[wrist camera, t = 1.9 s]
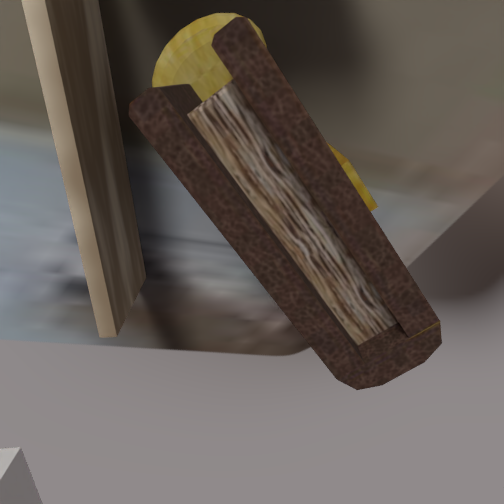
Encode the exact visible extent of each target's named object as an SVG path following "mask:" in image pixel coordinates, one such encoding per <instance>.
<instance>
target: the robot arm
mask: <svg viewBox="0 0 504 504" xmlns="http://www.w3.org/2000/svg"><path fill="white" fill-rule="evenodd" d="M0 504H42V501H41V499H40V496H39V493H38V491H37V488H36V486H35V483H34V480H33V478H32V475H31V473H30V470H29V468H28V465H27V462H26V460H25V457H24V454H23V452H22V450H21V447H16V448H2V449H0Z"/></svg>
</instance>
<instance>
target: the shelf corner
mask: <svg viewBox="0 0 504 504" xmlns="http://www.w3.org/2000/svg"><path fill="white" fill-rule="evenodd" d="M22 4H23V9H24V13H25V17H26V21H27V26H28V30H29V34H30V39H31V43H32V47H33V52H34V56H35V60H36V65H37V69H38V73H39V77H40V82H41V86H42V90H43V95H44V99H45V103H46V108H47V112H48V116H49V121H50V125H51V129H52V133H53V138H54V142H55V146H56V151H57V155H58V159H59V164H60V168H61V172H62V177H63V181H64V185H65V189H66V194H67V198H68V202H69V207H70V211H71V215H72V220H73V224H74V228H75V233H76V237H77V241H78V245H79V250H80V254H81V258H82V263H83V267H84V271H85V276H86V280H87V284H88V288H89V293H90V297H91V301H92V306H93V310H94V314H95V319H96V323H97V327H98V332H99V336H100V338H102V337H117V335H118V333H119V331H120V329H121V327H122V325H123V323H124V321H125V319H126V317H127V315H128V313H129V311H130V309H131V307H132V305H133V303H134V301H135V299H136V297H137V295H138V293H139V291H140V289H141V287H142V285H143V283H144V281H145V279H146V273H145V267H144V261H143V255H142V249H141V244H140V238H139V232H138V226H137V221H136V215H135V209H134V203H133V198H132V192H131V186H130V180H129V175H128V169H127V163H126V157H125V152H124V146H123V140H122V134H121V129H120V123H119V117H118V111H117V105H116V100H115V94H114V88H113V82H112V77H111V71H110V65H109V59H108V54H107V48H106V42H105V36H104V31H103V25H102V19H101V13H100V8H99V2H98V0H22Z"/></svg>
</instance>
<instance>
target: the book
mask: <svg viewBox="0 0 504 504" xmlns="http://www.w3.org/2000/svg"><path fill="white" fill-rule="evenodd" d="M129 117H130V118H131V119H132V121H133V122H134V123H135V125H136V126H137V127H138V128H139V130H140V131H141V132H142V133H143V135H144V136H145V137H146V138H147V140H148V141H149V142H150V144H151V145H152V146H153V147H154V149H155V150H156V151H157V152H158V154H159V155H160V156H161V157H162V159H163V160H164V161H165V163H166V164H167V165H168V166H169V168H170V169H171V170H172V171H173V173H174V174H175V175H176V176H177V178H178V179H179V180H180V181H181V183H182V184H183V185H184V187H185V188H186V189H187V190H188V192H189V193H190V194H191V195H192V197H193V198H194V199H195V200H196V202H197V203H198V204H199V206H200V207H201V208H202V209H203V211H204V212H205V213H206V214H207V216H208V217H209V218H210V219H211V221H212V222H213V223H214V225H215V226H216V227H217V228H218V230H219V231H220V232H221V233H222V235H223V236H224V237H225V238H226V240H227V241H228V242H229V244H230V245H231V246H232V247H233V249H234V250H235V251H236V252H237V254H238V255H239V256H240V257H241V259H242V260H243V261H244V263H245V264H246V265H247V266H248V268H249V269H250V270H251V271H252V273H253V274H254V275H255V276H256V278H257V279H258V280H259V281H260V283H261V284H262V285H263V287H264V288H265V289H266V290H267V292H268V293H269V294H270V295H271V297H272V298H273V299H274V300H275V302H276V303H277V304H278V306H279V307H280V308H281V309H282V311H283V312H284V313H285V314H286V316H287V317H288V318H289V319H290V321H291V322H292V323H293V325H294V326H295V327H296V328H297V330H298V331H299V332H300V333H301V335H302V336H303V337H304V338H305V340H306V341H307V342H308V344H309V345H310V346H311V347H312V349H313V350H314V351H315V352H316V354H317V355H318V356H319V357H320V359H321V360H322V361H323V363H324V364H325V365H326V366H327V368H328V369H329V370H330V371H331V373H332V374H333V375H334V376H335V378H336V379H337V380H339V381H341V382H343V383H345V384H347V385H349V386H350V387H353V388H355V389H356V390H360V389H365V388H370V387H375V386H380V385H383V384H385V383H387V382H389V381H391V380H392V379H394V378H396V377H398V376H400V375H402V374H403V373H405V372H407V371H409V370H411V369H413V368H415V367H416V366H418V365H420V364H422V363H424V362H425V361H426V360H427V359H428V358H429V357H430V356H431V355H432V353H433V352H434V351H435V350H436V349H437V348H438V347H439V346H440V345H441V343H442V340H441V328H440V320H439V319H438V317H437V316H436V314H435V313H434V311H433V309H432V308H431V306H430V305H429V303H428V302H427V300H426V298H425V297H424V295H423V294H422V292H421V291H420V289H419V287H418V286H417V284H416V283H415V281H414V280H413V278H412V276H411V275H410V273H409V272H408V270H407V268H406V267H405V265H404V264H403V262H402V261H401V259H400V257H399V256H398V254H397V253H396V251H395V250H394V248H393V246H392V245H391V243H390V242H389V240H388V239H387V237H386V235H385V234H384V232H383V231H382V229H381V228H380V226H379V224H378V223H377V221H376V220H375V218H374V217H373V215H372V213H371V211H372V210H374V209H375V208H377V207H378V206H377V204H376V203H375V201H374V199H373V198H372V196H371V195H370V193H369V191H368V190H367V188H366V187H365V185H364V183H363V182H362V180H361V179H360V177H359V175H358V174H357V172H356V171H355V169H354V167H353V166H352V164H351V163H350V161H349V160H348V159H347V158H346V157H344V156H343V155H342V154H341V153H339V152H338V151H337V150H336V149H335V148H333V147H332V146H331V145H330V144H328V143H327V142H326V141H325V139H324V138H323V136H322V135H321V133H320V132H319V130H318V128H317V127H316V125H315V124H314V122H313V121H312V119H311V117H310V116H309V114H308V113H307V111H306V109H305V108H304V106H303V105H302V103H301V102H300V100H299V98H298V97H297V95H296V94H295V92H294V91H293V89H292V87H291V86H290V84H289V83H288V81H287V80H286V78H285V76H284V75H283V73H282V72H281V70H280V69H279V67H278V65H277V64H276V62H275V61H274V59H273V58H272V56H271V54H270V53H269V51H268V50H267V45H266V42H265V40H264V37H263V34H262V32H261V30H260V29H259V28H258V27H257V26H256V25H255V24H254V23H253V22H252V21H251V20H250V19H248V18H247V17H243V16H241V15H238V14H236V13H215V14H212V15H209V16H205V17H202V18H199V19H197V20H195V21H194V22H192V23H190V24H189V25H187V26H186V27H184V28H183V29H181V30H180V31H179V32H178V33H177V34H176V35H175V36H174V37H173V38H172V39H171V40H170V41H169V43H168V44H167V45H166V46H165V48H164V50H163V51H162V53H161V55H160V57H159V59H158V60H157V62H156V66H155V70H154V74H153V78H152V88H148V89H147V90H145V91H144V92H143V93H142V94H140V95H139V96H138V97H137V98H136V99H134V100H133V101H132V102H131V103H129Z"/></svg>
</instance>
